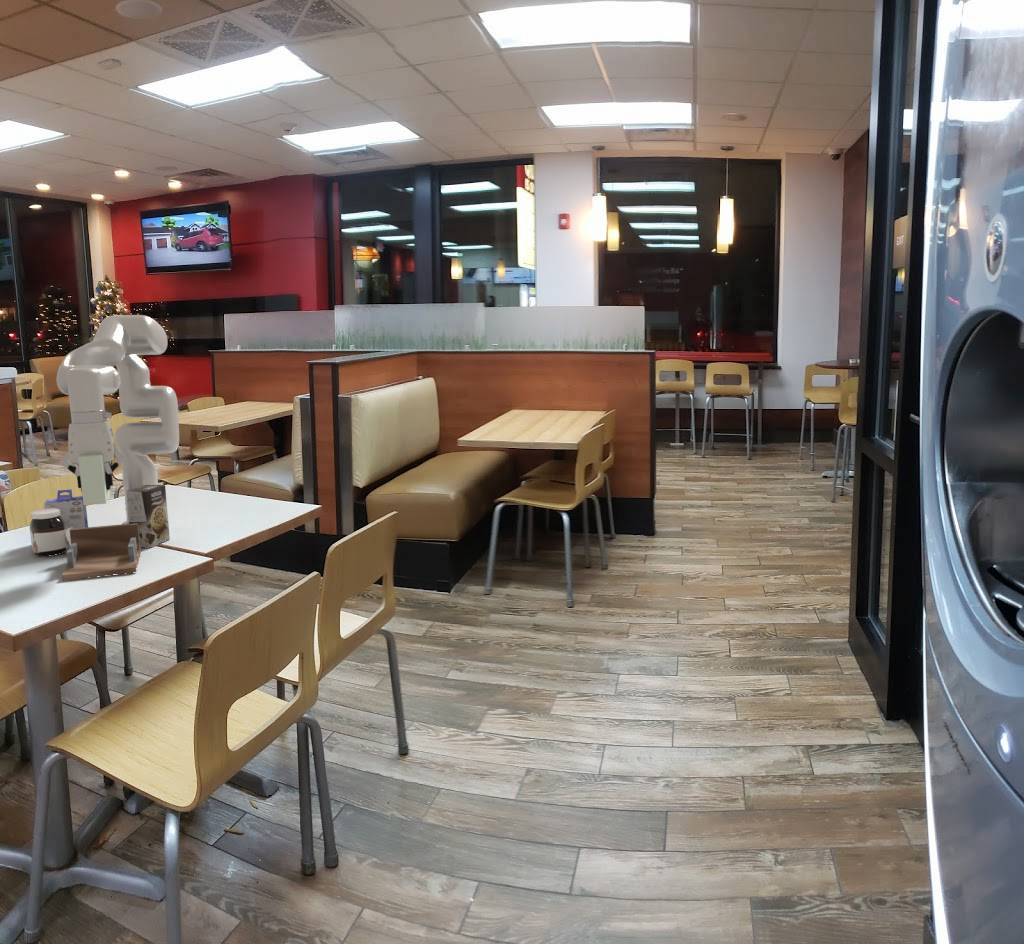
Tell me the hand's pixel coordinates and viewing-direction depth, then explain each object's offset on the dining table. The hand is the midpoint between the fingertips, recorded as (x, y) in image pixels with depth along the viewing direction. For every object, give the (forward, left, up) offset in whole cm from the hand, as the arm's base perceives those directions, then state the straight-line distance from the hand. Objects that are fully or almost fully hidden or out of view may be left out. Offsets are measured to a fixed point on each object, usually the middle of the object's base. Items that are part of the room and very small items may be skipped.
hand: (96, 489), depth 202 cm
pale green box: (0, 0, -3) cm, 3 cm away
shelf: (+1, 0, -20) cm, 20 cm away
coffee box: (-18, +10, -20) cm, 29 cm away
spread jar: (-18, -13, -20) cm, 30 cm away
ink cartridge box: (-30, -12, -20) cm, 38 cm away
